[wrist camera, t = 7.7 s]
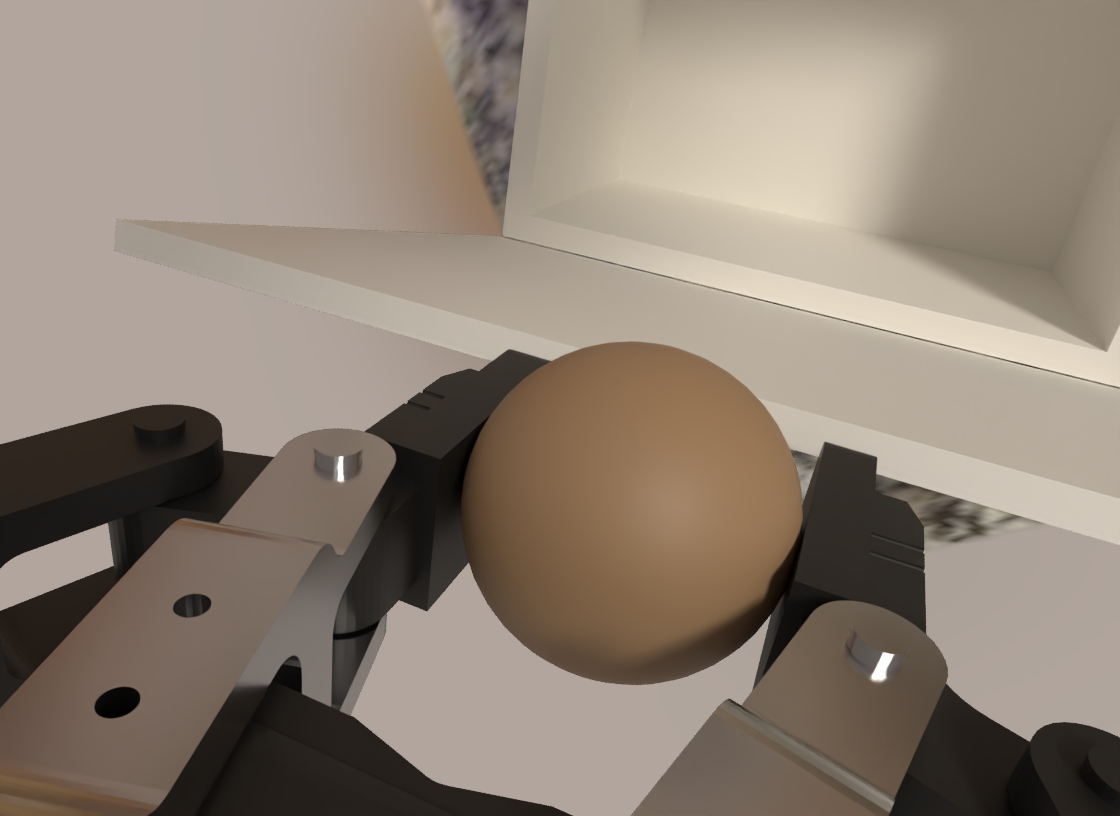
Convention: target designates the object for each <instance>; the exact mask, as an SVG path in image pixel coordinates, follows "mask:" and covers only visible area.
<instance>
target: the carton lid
mask: <svg viewBox="0 0 1120 816" xmlns="http://www.w3.org/2000/svg"><path fill="white" fill-rule="evenodd" d="M114 251H116V252H119V253H123V254H126V255H130V256H133V257H136V258H140V259H143V260H147V261H150V262H154V263H157V264H160V265H164V266H167V267H171V268H174V269H177V270H181V271H184V272H188V273H191V274H194V275H198V276H201V277H205V278H208V279H212V280H215V281H219V282H222V283H226V284H229V285H232V286H236V287H240V288H242V289H246V290H249V291H253V292H256V293H259V294H263V295H266V296H270V297H273V298H277V299H280V300H284V301H287V302H290V303H294V304H297V305H300V306H304V307H307V308H311V309H314V310H318V311H321V312H324V313H328V314H332V315H335V316H338V317H342V318H345V319H348V320H352V321H356V322H359V323H362V324H366V325H369V326H372V327H376V328H380V329H383V330H386V331H389V332H393V333H396V334H400V335H403V336H407V337H410V338H414V339H417V340H420V341H424V342H427V343H431V344H434V345H437V346H441V347H444V348H447V349H451V350H455V351H458V352H461V353H465V354H468V355H472V356H475V357H478V358H482V359H486V360H488V361H493V360H495V359H496V358H497V357H498V356H500V355H501V354H502V353H504V352H505V351H506V350H508V349H512V350H516V351H519V352H522V353H526V354H529V355H533V356H536V357H539V358H543V359H546V360H550V361H551V362H549V363H547V364H545V365H543V366H541V367H540V368H538V369H537V370H536V371H534V372H533V373H531V374H530V375H529V376H527V377H526V378H524V379H523V380H522V381H521V382H520V383H519V384H518V385H517V386H516V387H515V388H514V389H513V390H511V391H510V392H509V393H508V394H507V395H506V396H505V398H504V399H503V400H502V401H501V402H500V404H499V405H498V406H497V407H496V409H495V410H494V411H493V412H492V414H491V415H490V417H489V418H488V420H487V422H486V423H485V425H484V427H483V428H482V430H481V432H480V434H479V436H478V439H477V441H476V443H475V446H474V448H473V450H472V453H471V456H470V458H469V462H468V466H467V469H466V473H465V477H464V482H463V490H462V498H461V511H462V533H463V539H464V545H465V550H466V554H467V557H468V560H469V564H470V566H471V570H472V573H473V576H474V579H475V581H476V583H477V585H478V587H479V588H480V590H481V592H482V594H483V596H484V598H485V600H486V602H487V604H488V605H489V606H490V608H491V609H492V611H493V612H494V613H495V615H496V616H497V617H498V619H499V620H500V621H501V623H502V624H503V625H504V626H505V627H506V628H507V629H508V630H509V631H510V632H511V633H512V634H513V635H514V636H515V637H516V638H517V639H518V640H519V641H520V642H521V643H522V644H523V645H524V646H526V647H527V648H528V649H530V650H531V651H532V652H533V653H535V654H536V655H538V656H539V657H541V658H543V659H544V660H546V661H548V662H550V663H552V664H554V665H555V666H557V667H559V668H561V669H563V670H566V671H568V672H570V673H573V674H576V675H579V676H581V677H584V678H588V679H592V680H596V681H601V682H606V683H615V684H627V685H628V684H629V685H644V684H654V683H661V682H666V681H670V680H676V679H680V678H683V677H687V676H689V675H692V674H694V673H696V672H699V671H701V670H704V669H706V668H708V667H710V666H712V665H714V664H716V663H718V662H719V661H721V660H722V659H724V658H725V657H727V656H729V655H730V654H731V653H733V652H734V651H736V650H737V649H738V648H740V647H741V646H742V645H743V644H744V643H745V642H747V641H748V640H749V639H750V638H751V637H752V636H753V635H754V634H755V633H756V632H757V631H758V629H759V628H760V627H761V626H762V625H763V623H764V622H765V621H766V620H767V618H768V617H769V616H770V615H771V614H772V612H773V611H774V610H775V608H776V606H777V604H778V603H779V601H780V599H781V598H782V596H783V594H784V593H785V590H786V588H787V585H788V583H789V580H790V577H791V574H792V571H793V567H794V564H795V561H796V557H797V554H798V550H799V546H800V542H801V536H802V525H803V513H802V494H801V487H800V482H799V477H798V472H797V468H796V465H795V462H794V459H793V457H792V454H791V451H790V449H793V450H796V451H800V452H803V453H806V454H810V455H813V456H817V457H819V454H820V451H821V448H822V446H823V443H824V441H825V442H828V443H832V444H835V445H839V446H842V447H845V448H849V449H852V450H856V451H859V452H863V453H866V454H869V455H873V456H876V457H877V470H876V474H878V475H882V476H885V477H888V478H892V479H895V480H899V481H902V482H906V483H909V484H912V485H916V486H919V487H923V488H926V489H930V490H933V491H936V492H940V493H943V494H947V495H950V496H953V497H957V498H960V499H964V500H967V501H971V502H974V503H977V504H981V505H984V506H988V507H991V508H994V509H998V510H1001V511H1005V512H1008V513H1012V514H1015V515H1018V516H1022V517H1025V518H1029V519H1032V520H1035V521H1039V522H1042V523H1046V524H1049V525H1053V526H1056V527H1059V528H1063V529H1066V530H1070V531H1073V532H1077V533H1080V534H1084V535H1087V536H1090V537H1094V538H1097V539H1101V540H1104V541H1108V542H1111V543H1114V544H1118V545H1120V389H1117V388H1113V387H1109V386H1105V385H1101V384H1097V383H1093V382H1089V381H1085V380H1081V379H1077V378H1073V377H1069V376H1065V375H1061V374H1057V373H1053V372H1048V371H1044V370H1040V369H1036V368H1032V367H1028V366H1024V365H1020V364H1016V363H1012V362H1008V361H1004V360H1000V359H996V358H992V357H988V356H984V355H979V354H975V353H971V352H967V351H963V350H959V349H955V348H951V347H947V346H943V345H939V344H935V343H931V342H927V341H923V340H919V339H914V338H910V337H906V336H902V335H898V334H894V333H890V332H886V331H882V330H878V329H874V328H870V327H866V326H862V325H858V324H854V323H850V322H845V321H841V320H837V319H833V318H829V317H825V316H821V315H817V314H813V313H809V312H805V311H801V310H797V309H793V308H789V307H785V306H781V305H776V304H772V303H768V302H764V301H760V300H756V299H752V298H748V297H744V296H740V295H736V294H732V293H728V292H724V291H720V290H716V289H712V288H707V287H703V286H699V285H695V284H691V283H687V282H683V281H679V280H675V279H671V278H667V277H663V276H659V275H655V274H651V273H647V272H643V271H638V270H634V269H630V268H626V267H622V266H618V265H614V264H610V263H606V262H602V261H598V260H594V259H590V258H586V257H582V256H578V255H574V254H569V253H565V252H561V251H557V250H553V249H549V248H545V247H541V246H537V245H533V244H529V243H525V242H521V241H517V240H513V239H509V238H504V237H500V236H492V235H469V234H446V233H424V232H422V233H421V232H401V231H378V230H355V229H332V228H309V227H286V226H264V225H240V224H218V223H195V222H194V223H193V222H171V221H149V220H126V219H116V231H115V244H114Z"/></svg>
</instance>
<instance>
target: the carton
mask: <svg viewBox="0 0 1120 816" xmlns="http://www.w3.org/2000/svg"><path fill="white" fill-rule="evenodd" d="M502 236H506V237H510V238H514V239H518V240H522V241H526V242H530V243H534V244H538V245H542V246H547V247H551V248H555V249H559V250H563V251H567V252H571V253H575V254H579V255H583V256H587V257H591V258H595V259H599V260H604V261H608V262H612V263H616V264H620V265H624V266H628V267H632V268H636V269H640V270H644V271H648V272H652V273H656V274H660V275H665V276H669V277H673V278H677V279H681V280H685V281H689V282H693V283H697V284H701V285H705V286H709V287H713V288H717V289H721V290H726V291H730V292H734V293H738V294H742V295H746V296H750V297H754V298H758V299H762V300H766V301H770V302H774V303H778V304H782V305H787V306H791V307H795V308H799V309H803V310H807V311H811V312H815V313H819V314H823V315H827V316H831V317H835V318H839V319H843V320H848V321H852V322H856V323H860V324H864V325H868V326H872V327H876V328H880V329H884V330H888V331H892V332H896V333H900V334H904V335H909V336H913V337H917V338H921V339H925V340H929V341H933V342H937V343H941V344H945V345H949V346H953V347H957V348H961V349H966V350H970V351H974V352H978V353H982V354H986V355H990V356H994V357H998V358H1002V359H1006V360H1010V361H1014V362H1018V363H1022V364H1027V365H1031V366H1035V367H1039V368H1043V369H1047V370H1051V371H1055V372H1059V373H1063V374H1067V375H1071V376H1075V377H1079V378H1083V379H1088V380H1092V381H1096V382H1100V383H1104V384H1108V385H1112V386H1116V387H1120V0H529V2H528V11H527V19H526V28H525V37H524V46H523V55H522V64H521V73H520V82H519V90H518V99H517V108H516V117H515V126H514V135H513V144H512V152H511V161H510V170H509V179H508V188H507V197H506V206H505V215H504V223H503V232H502Z"/></svg>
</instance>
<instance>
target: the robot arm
mask: <svg viewBox="0 0 1120 816" xmlns="http://www.w3.org/2000/svg"><path fill="white" fill-rule="evenodd" d="M549 362H551V361H550V360H546V359H543V358H539V357H536V356H533V355H529V354H526V353H522V352H519V351H516V350H512V349H508V350H506V351H505V352H504V353H502V354H501V355H500V356H498V357H497V358H496V359H495V360H493V361H492V362H491V363H489V364H488V365H487V366H485V367H484V368H483V369H481V370H480V371H476V370H473V369H467V370H463V371H459V372H456V373H453V374H449V375H445V376H442V377H440V378H439V379H438V380H436V381H435V382H433V383H432V384H431V385H429V386H428V387H426V388H425V389H424V390H423V392H422V393H418V394H417V395H415V396H414V397H412V398H411V399H410V400H408V403H407V404H402V405H401V406H400V407H399V408H397V409H396V410H394V411H393V412H392V413H390V414H389V415H387V416H386V417H384V418H383V419H381V420H380V421H379V422H377V423H376V424H375V425H373V426H372V427H370V428H369V429H367V430H366V431H365V432H362V431H358V430H351V429H323V430H317V431H312V432H309V433H306V434H302V435H300V436H298V437H296V438H294V439H292V440H291V441H289V442H288V443H287V444H286V445H285V446H283V448H282V449H281V450H280V451H279V452H278V454H277V455H276V456H275V457H269V456H262V455H254V454H247V453H239V452H232V451H224V450H223V441H222V426H221V423H220V422H219V420H218V419H217V418H216V417H215V416H214V415H212V414H211V413H209V412H207V411H204V410H202V409H199V408H195V407H190V406H184V405H152V406H145V407H140V408H135V409H131V410H127V411H124V412H120V413H116V414H112V415H109V416H105V417H101V418H97V419H94V420H90V421H87V422H83V423H79V424H75V425H71V426H68V427H64V428H60V429H57V430H53V431H49V432H45V433H41V434H38V435H34V436H31V437H26V438H23V439H19V440H15V441H12V442H8V443H4V444H0V568H1V567H2V566H3V565H4V564H5V563H7V562H8V561H9V560H11V559H12V558H14V557H16V556H17V555H20V554H22V553H24V552H27V551H30V550H33V549H36V548H38V547H41V546H44V545H47V544H50V543H52V542H55V541H58V540H61V539H64V538H66V537H69V536H72V535H75V534H78V533H80V532H83V531H86V530H89V529H91V528H94V527H97V526H100V525H103V524H105V523H108V525H109V533H110V540H111V548H112V555H113V563H114V566H112V567H110V568H107V569H105V570H102V571H100V572H97V573H95V574H92V575H90V576H87V577H85V578H82V579H80V580H77V581H75V582H72V583H69V584H67V585H64V586H62V587H60V588H57V589H54V590H52V591H49V592H47V593H44V594H42V595H39V596H37V597H35V598H32V599H29V600H27V601H24V602H22V603H19V604H17V605H14V606H12V607H9V608H7V609H4V610H2V611H0V816H572V815H570V814H568V813H566V812H563V811H561V810H559V809H556V808H554V807H551V806H547V805H542V804H537V803H532V802H526V801H521V800H516V799H511V798H506V797H500V796H496V795H491V794H486V793H481V792H476V791H471V790H466V789H461V788H455V787H450V786H446V785H443V784H439V783H437V782H435V781H432V780H431V779H430V778H428V777H426V776H425V775H424V774H423V773H422V772H421V771H419V770H418V769H417V768H416V767H414V766H413V765H412V764H411V763H409V762H408V761H407V760H406V759H405V758H403V757H402V756H401V755H400V754H398V753H397V752H396V751H395V750H394V749H392V748H391V747H390V746H389V745H387V744H386V743H385V742H384V741H383V740H381V739H380V738H379V737H378V736H376V735H375V734H374V733H373V732H372V731H370V730H369V729H368V728H367V727H365V726H364V725H363V724H362V723H360V722H359V721H358V720H357V719H356V718H354V717H352V716H350V715H351V713H352V711H353V708H354V706H355V704H356V701H357V699H358V697H359V694H360V692H361V690H362V687H363V685H364V683H365V680H366V678H367V676H368V674H369V671H370V669H371V667H372V664H373V662H374V660H375V657H376V655H377V653H378V650H379V648H380V646H381V644H382V641H383V639H384V636H385V633H386V619H387V612H388V611H389V610H390V609H391V608H392V607H393V606H394V605H395V604H396V602H397V601H398V600H400V601H403V602H405V603H408V604H410V605H413V606H415V607H418V608H420V609H423V610H425V611H428V610H429V609H430V607H431V606H432V605H433V604H434V603H435V601H436V600H437V599H438V598H439V597H440V595H441V594H442V593H443V592H444V591H445V590H446V588H447V587H448V586H449V585H450V584H451V583H452V581H453V580H454V579H455V578H456V577H457V576H458V574H459V573H460V572H461V571H462V569H464V567H465V566H466V565H467V564H468V563H469V560H468V557H467V554H466V550H465V545H464V539H463V533H462V511H461V498H462V490H463V482H464V477H465V473H466V469H467V466H468V462H469V458H470V456H471V453H472V450H473V448H474V446H475V443H476V441H477V439H478V436H479V434H480V432H481V430H482V428H483V427H484V425H485V423H486V422H487V420H488V418H489V417H490V415H491V414H492V412H493V411H494V410H495V409H496V407H497V406H498V405H499V404H500V402H501V401H502V400H503V399H504V398H505V396H506V395H507V394H508V393H509V392H510V391H511V390H513V389H514V388H515V387H516V386H517V385H518V384H519V383H520V382H521V381H522V380H523V379H524V378H526V377H527V376H529V375H530V374H531V373H533V372H534V371H536V370H537V369H538V368H540V367H541V366H543V365H545V364H547V363H549ZM876 470H877V457H876V456H873V455H869V454H866V453H863V452H859V451H856V450H852V449H849V448H845V447H842V446H839V445H835V444H832V443H828V442H825V441H824V443H823V446H822V448H821V451H820V454H819V457H818V460H817V463H816V466H815V469H814V472H813V475H812V478H811V481H810V484H809V487H808V490H807V493H806V496H805V499H804V502H803V505H802V513H803V525H802V536H801V542H800V546H799V550H798V554H797V557H796V561H795V564H794V567H793V571H792V574H791V577H790V580H789V583H788V585H787V588H786V590H785V593H784V594H783V596H782V598H781V599H780V601H779V603H778V604H777V606H776V608H775V610H774V611H773V612H772V614H771V617H770V621H769V625H768V630H767V634H766V638H765V642H764V646H763V650H762V654H761V658H760V662H759V666H758V670H757V674H756V678H755V683H754V687H753V690H752V692H751V693H750V695H749V696H748V698H747V699H746V700H745V701H744V703H743V704H742V705H739V704H738V703H736V702H734V701H733V700H731V699H727V700H725V701H724V702H723V703H722V704H721V705H720V706H718V708H717V709H716V710H715V711H714V712H713V714H712V715H711V716H710V717H709V719H708V720H707V721H706V722H705V724H704V725H703V726H702V727H701V729H700V730H699V731H698V732H697V734H696V735H695V736H694V737H693V739H692V740H691V741H690V742H689V744H688V745H687V746H686V747H685V749H684V750H683V751H682V752H681V754H680V755H679V756H678V757H677V759H676V760H675V761H674V762H673V764H672V765H671V766H670V767H669V769H668V770H667V771H666V772H665V774H664V775H663V776H662V777H661V778H660V780H659V781H658V782H657V783H656V785H655V786H654V787H653V788H652V790H651V791H650V792H649V794H648V795H647V796H646V797H645V798H644V800H643V801H642V802H641V804H640V805H639V806H638V807H637V808H636V810H635V811H634V812H633V813H632V815H631V816H1120V738H1119V737H1118V736H1115V735H1113V734H1111V733H1108V732H1105V731H1103V730H1100V729H1097V728H1094V727H1091V726H1087V725H1082V724H1077V723H1067V722H1063V723H1052V724H1049V725H1046V726H1044V727H1042V728H1040V729H1039V730H1038V731H1037V732H1036V733H1035V735H1034V736H1033V737H1032V739H1031V741H1030V742H1029V741H1027V740H1026V739H1024V738H1022V737H1020V736H1019V735H1017V734H1015V733H1014V732H1012V731H1010V730H1009V729H1007V728H1005V727H1003V726H1002V725H1000V724H998V723H997V722H995V721H993V720H991V719H990V718H988V717H986V716H985V715H983V714H982V713H980V712H979V711H977V710H976V709H974V708H973V707H972V706H970V705H969V704H968V703H966V702H965V701H964V700H962V699H961V698H960V697H959V696H958V695H957V694H956V693H955V692H954V691H953V690H952V689H951V688H950V687H949V686H948V685H947V684H946V681H947V678H948V668H947V664H946V661H945V659H944V657H943V655H942V653H941V651H940V650H939V649H938V647H937V646H936V644H935V643H934V642H933V641H932V640H931V639H930V638H929V637H928V636H927V635H926V605H925V573H923V572H924V567H925V565H924V554H923V551H924V526H923V525H922V523H921V522H920V520H919V519H918V517H917V516H916V515H915V513H914V512H913V510H912V509H911V507H910V506H909V504H908V503H907V502H905V501H902V500H899V499H896V498H892V497H889V496H886V495H882V494H879V493H876V492H875V482H876Z"/></svg>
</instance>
